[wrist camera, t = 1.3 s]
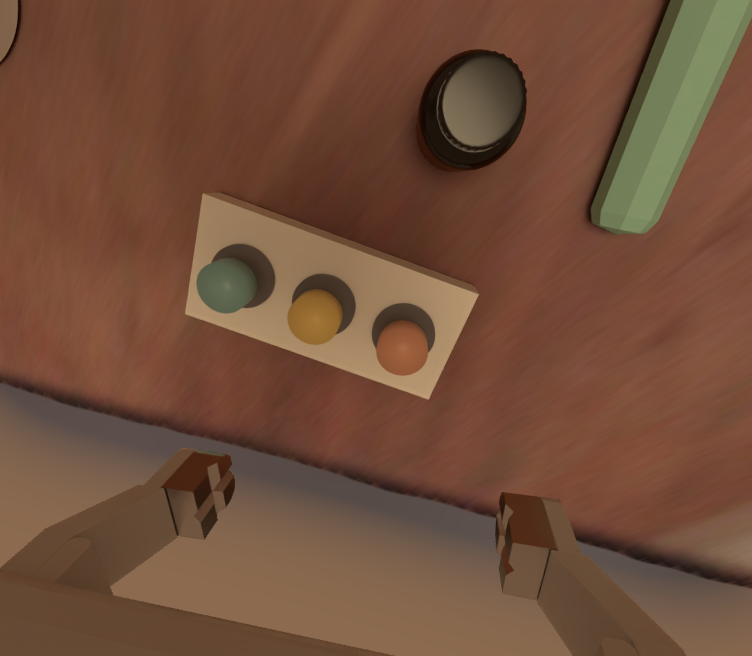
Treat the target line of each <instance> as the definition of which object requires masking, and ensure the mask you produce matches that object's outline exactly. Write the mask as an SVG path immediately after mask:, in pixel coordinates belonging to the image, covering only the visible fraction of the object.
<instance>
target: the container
mask: <svg viewBox="0 0 752 656" xmlns="http://www.w3.org/2000/svg"><path fill="white" fill-rule="evenodd" d="M751 18H752V0H670V3H669V5H668V8H667V11H666V13H665V16H664V18H663V21H662V24H661V26H660V29H659V31H658V34H657V37H656V39H655V42H654V45H653V47H652V50H651V52H650V55H649V58H648V60H647V63H646V65H645V68H644V71H643V73H642V76H641V78H640V81H639V84H638V86H637V89H636V92H635V94H634V97H633V99H632V102H631V105H630V107H629V110H628V112H627V115H626V118H625V120H624V123H623V126H622V128H621V131H620V133H619V136H618V139H617V141H616V144H615V146H614V149H613V152H612V154H611V157H610V159H609V162H608V165H607V167H606V170H605V173H604V175H603V178H602V180H601V183H600V186H599V188H598V191H597V193H596V196H595V199H594V201H593V204H592V206H591V219H592V223H593V224H595V225H597V226H599V227H601V228H603V229H605V230H607V231H609V232H611V233H613V234H645V233H646V232H647V231H648V230H649V229H650V228H651V227H653V226H654V225H655V224H656V223H657V222H658V220H659V218H660V216H661V214H662V212H663V209H664V207H665V205H666V203H667V201H668V199H669V196H670V194H671V192H672V190H673V188H674V185H675V183H676V181H677V179H678V177H679V175H680V172H681V170H682V168H683V166H684V164H685V162H686V159H687V157H688V155H689V153H690V151H691V148H692V146H693V144H694V142H695V140H696V138H697V135H698V133H699V131H700V129H701V127H702V125H703V122H704V120H705V118H706V116H707V114H708V111H709V109H710V107H711V105H712V103H713V101H714V98H715V96H716V94H717V92H718V90H719V88H720V85H721V83H722V81H723V79H724V77H725V74H726V72H727V70H728V68H729V66H730V64H731V61H732V59H733V57H734V55H735V53H736V51H737V48H738V46H739V44H740V42H741V40H742V37H743V35H744V33H745V31H746V29H747V27H748V24H749V22H750V20H751Z"/></svg>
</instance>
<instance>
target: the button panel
mask: <svg viewBox="0 0 752 656" xmlns="http://www.w3.org/2000/svg"><path fill="white" fill-rule="evenodd" d="M223 258H235V259H238V260H240V261H242V262H244V263H245V264H246V265H247V266H248V267H249V268H250V269H251V270H252V272H253V273H254V275H255V278H256V281H257V291H256V294H255V296H254V298H253V299H252V300H251V301H250V302H249V303H248V304H246V305H245V306H244V307H242V308H241V309H240V310H238V311H236V312H234V313H229V314H224V313H219V312H216V311H214V310H212V309H211V308H209V307H208V306H207V305H206V304H205V303H204V302H203V301H202V299H201V298H200V296H199V294H198V291H197V286H196V281H197V276H198V274H199V272H200V270H201V269H202V268H203V267H204V266H206V265H208V264H210V263H213V262H215V261H217V260H220V259H223ZM314 289H319V290H324V291H327V292H329V293H330V294H332V295H333V296H334V297H335V298H336V299H337V300H338V301H339V303H340V305H341V307H342V311H343V319H342V322H341V325H340V326H339V328H338V330H337V332H336V334H335V336H334V337H333V338H332V339H331V340H330V341H328V342H326V343H324V344H320V345H311V344H307V343H304V342H302V341H300V340H299V339H298V338H296V337H295V336H294V334H293V333H292V332H291V330H290V328H289V326H288V321H287V315H288V311H289V308H290V307H291V305H292V304H293V303H294V302H295V301H296V300H297V299H298V298H299V297H300V296H301V295H302V294H303V293H305V292H306V291H309V290H314ZM478 295H479V294H478V292H477V290H476V288H475V287H474V285H471V284H468V283H466V282H463V281H460V280H457V279H455V278H452V277H449V276H446V275H444V274H441V273H438V272H436V271H433V270H430V269H427V268H425V267H422V266H419V265H416V264H414V263H411V262H408V261H406V260H403V259H400V258H397V257H395V256H392V255H389V254H386V253H384V252H381V251H378V250H376V249H373V248H370V247H367V246H365V245H362V244H359V243H356V242H354V241H351V240H348V239H346V238H343V237H340V236H337V235H335V234H332V233H329V232H326V231H324V230H321V229H318V228H315V227H313V226H310V225H307V224H305V223H302V222H299V221H296V220H294V219H291V218H288V217H285V216H283V215H280V214H277V213H275V212H272V211H269V210H266V209H264V208H261V207H258V206H255V205H253V204H250V203H247V202H245V201H242V200H239V199H236V198H234V197H231V196H228V195H225V194H223V193H220V192H216V193H203V195H202V202H201V209H200V215H199V222H198V229H197V236H196V243H195V250H194V257H193V264H192V270H191V277H190V284H189V291H188V298H187V305H186V312H185V314H187V315H190V316H193V317H195V318H198V319H201V320H204V321H207V322H210V323H212V324H215V325H218V326H221V327H224V328H227V329H229V330H232V331H235V332H238V333H241V334H244V335H247V336H249V337H252V338H255V339H258V340H261V341H264V342H266V343H269V344H272V345H275V346H278V347H281V348H283V349H286V350H289V351H292V352H295V353H298V354H300V355H303V356H306V357H309V358H312V359H315V360H318V361H320V362H323V363H326V364H329V365H332V366H335V367H337V368H340V369H343V370H346V371H349V372H352V373H354V374H357V375H360V376H363V377H366V378H369V379H371V380H374V381H377V382H380V383H383V384H386V385H389V386H391V387H394V388H397V389H400V390H403V391H406V392H408V393H411V394H414V395H417V396H420V397H423V398H425V399H429V397H430V395H431V393H432V391H433V389H434V387H435V385H436V383H437V381H438V378H439V376H440V374H441V372H442V370H443V368H444V366H445V364H446V362H447V360H448V358H449V356H450V353H451V351H452V349H453V347H454V345H455V343H456V341H457V339H458V337H459V335H460V333H461V331H462V328H463V326H464V324H465V322H466V320H467V318H468V316H469V314H470V312H471V310H472V308H473V306H474V303H475V301H476V299H477V297H478ZM400 320H405V321H410V322H413V323H415V324H417V325H418V326H419V327H420V328H421V329H422V330H423V331H424V333H425V335H426V337H427V345H428V357H427V361H426V363H425V364H424V366H423V367H422V368H421V369H420V370H419V371H417V372H416V373H413V374H411V375H406V376H399V375H395V374H392V373H390V372H388V371H386V370H385V369H384V368H383V367H382V366H381V365H380V363H379V361H378V359H377V355H376V349H377V344H378V339H379V336H380V333H381V331H382V330H383V329H384V328H385V327H386V326H387V325H388V324H390V323H392V322H395V321H400Z"/></svg>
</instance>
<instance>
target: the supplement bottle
mask: <svg viewBox="0 0 752 656" xmlns="http://www.w3.org/2000/svg"><path fill="white" fill-rule="evenodd" d="M526 92H527V90H526V88H525V80H524V79H523V75H522V72H521V71H520V70H519V68H518V65H517V64H516V63H513V61H512V59H511V58H507V57H506V56H505V55H504V54H499V53H497V52H496V51H489V50H483V49H475V50H469V51H464V52H462V53H459V54H457V55H455V56H453V57H451V58H450V59H448V60H447V61H445V62H444V63H443V64H442V65H441V66H440V67H439V68H438V69H437V70H436V71H435V72H434V74H433V75H432V77H431V78H430V80H429V81H428V83H427V85H426V87H425V89H424V92H423V95H422V98H421V102H420V106H419V112H418V118H417V140H418V144H419V147H420V149H421V151H422V153H423V155H424V156H425V157H426V159H427V160H428V161H429V162H430V163H431V164H433V165H434V166H436V167H437V168H439V169H442V170H445V171H450V172H460V171H468V170H475V169H479V168H483V167H485V166H488V165H489V164H491V163H493V162H495V161H496V160H498V159H499V158H501V157H502V156H503V155H504V154H505V153H506V152H507V151H508V150H509V149H510V148H511V146H512V145H513V144H514V142H515V141H516V139H517V137H518V135H519V134H520V131H521V129H522V126H523V123H524V119H525V115H526V105H527V102H526V101H527V99H526Z"/></svg>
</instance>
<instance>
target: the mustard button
mask: <svg viewBox="0 0 752 656" xmlns="http://www.w3.org/2000/svg"><path fill="white" fill-rule="evenodd" d="M342 319H343V311H342V307H341V305H340V303H339V301H338V300H337V299H336V298H335V297H334V296H333V295H332V294H330V293H329V292H327V291H324V290H319V289H314V290H309V291H306V292H305V293H303V294H302V295H301V296H300V297H299V298H298V299H297V300H296V301H295V302H294V303H293V304H292V305H291V307H290V308H289V311H288V315H287V321H288V326H289V328H290V330H291V332H292V333H293V334H294V336H295V337H296V338H298V339H299V340H300V341H302V342H304V343H307V344H311V345H320V344H324V343H326V342H328V341H330V340H331V339H332V338H333V337H334V336H335V334H336V332H337V330H338V328H339V326H340V325H341V322H342Z"/></svg>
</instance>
